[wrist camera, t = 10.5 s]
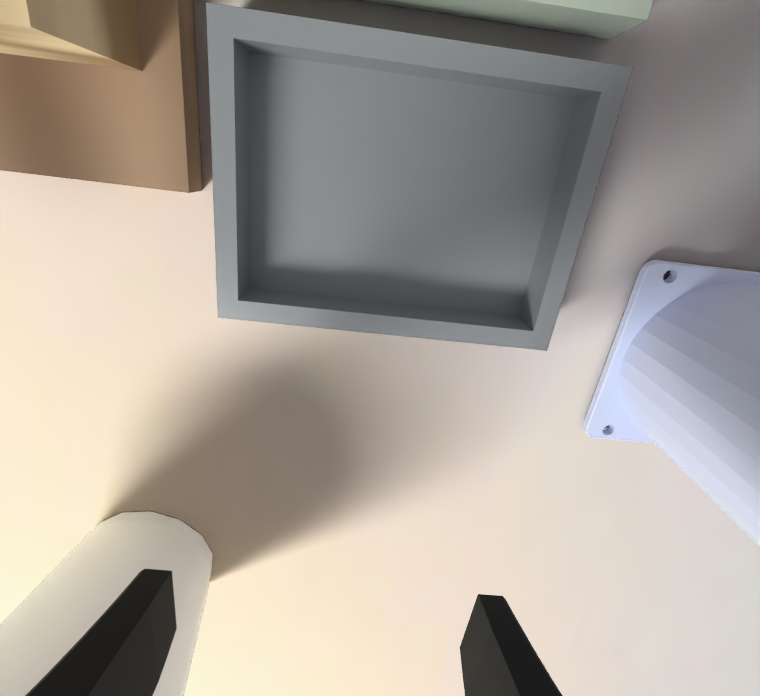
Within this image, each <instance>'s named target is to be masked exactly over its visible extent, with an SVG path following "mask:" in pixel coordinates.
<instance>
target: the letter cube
mask: <svg viewBox="0 0 760 696" xmlns="http://www.w3.org/2000/svg"><path fill="white" fill-rule="evenodd" d="M0 53H5V54H12V55H20V56H28V57H36V58H43V59H51V60H59V61H66V62H74V63H82V64H89V65H97V66H105V67H113V68H120V69H128V70H136V71H142V61H141V50H140V40H139V30H138V20H137V10H136V0H0Z"/></svg>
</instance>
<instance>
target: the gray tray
mask: <svg viewBox="0 0 760 696" xmlns="http://www.w3.org/2000/svg"><path fill="white" fill-rule="evenodd" d="M206 17H207V43H208V69H209V96H210V122H211V148H212V174H213V201H214V227H215V253H216V280H217V306H218V318H228V319H238V320H248V321H258V322H267V323H277V324H287V325H297V326H307V327H317V328H327V329H337V330H347V331H357V332H367V333H377V334H387V335H397V336H407V337H416V338H426V339H436V340H446V341H456V342H466V343H476V344H486V345H496V346H506V347H516V348H526V349H536V350H546V351H547V349H548V346H549V342H550V339H551V336H552V333H553V329H554V326H555V323H556V319H557V316H558V313H559V309H560V306H561V303H562V300H563V296H564V293H565V290H566V286H567V283H568V280H569V277H570V273H571V270H572V267H573V263H574V260H575V257H576V253H577V250H578V247H579V244H580V240H581V237H582V234H583V230H584V227H585V224H586V221H587V217H588V214H589V211H590V207H591V204H592V201H593V197H594V194H595V191H596V188H597V184H598V181H599V178H600V174H601V171H602V168H603V165H604V161H605V158H606V155H607V151H608V148H609V145H610V142H611V138H612V135H613V132H614V128H615V125H616V122H617V118H618V115H619V112H620V109H621V105H622V102H623V99H624V95H625V92H626V89H627V86H628V82H629V79H630V76H631V72H632V69H633V67H629V66H623V65H616V64H610V63H603V62H596V61H590V60H583V59H577V58H570V57H563V56H557V55H550V54H544V53H537V52H531V51H524V50H517V49H511V48H504V47H498V46H491V45H484V44H478V43H471V42H465V41H458V40H451V39H445V38H438V37H432V36H425V35H418V34H412V33H405V32H399V31H392V30H385V29H379V28H372V27H366V26H359V25H352V24H346V23H339V22H333V21H326V20H319V19H313V18H306V17H300V16H293V15H286V14H280V13H273V12H267V11H260V10H253V9H247V8H240V7H234V6H227V5H220V4H214V3H207V2H206Z"/></svg>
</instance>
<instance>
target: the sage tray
mask: <svg viewBox="0 0 760 696" xmlns="http://www.w3.org/2000/svg"><path fill="white" fill-rule="evenodd" d="M361 1H367V2H374V3H380V4H387V5H393V6H400V7H406V8H412V9H419V10H425V11H432V12H438V13H444V14H451V15H457V16H464V17H470V18H477V19H483V20H489V21H496V22H502V23H509V24H515V25H521V26H528V27H534V28H541V29H547V30H554V31H560V32H566V33H573V34H579V35H586V36H592V37H598V38H605V39H611V38H613V37H615V36H617V35H619V34H621V33H623V32H625V31H627V30H629V29H630V28H632V27H634V26H636V25H638V24H640V23H642V22H644V21H646V20H648V16H649V13H650V10H651V6H652V3H653V0H361Z"/></svg>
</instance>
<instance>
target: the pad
mask: <svg viewBox="0 0 760 696" xmlns="http://www.w3.org/2000/svg"><path fill="white" fill-rule="evenodd" d="M136 10H137V20H138V30H139V40H140V50H141V61H142V71H136V70H128V69H120V68H113V67H105V66H97V65H89V64H82V63H74V62H66V61H59V60H51V59H43V58H36V57H28V56H20V55H12V54H5V53H0V170H4V171H13V172H21V173H29V174H38V175H46V176H54V177H62V178H71V179H79V180H87V181H96V182H104V183H112V184H121V185H129V186H137V187H146V188H154V189H162V190H170V191H179V192H187V193H190V192H196V191H202V178H201V157H200V136H199V115H198V94H197V73H196V52H195V31H194V10H193V0H136Z"/></svg>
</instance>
